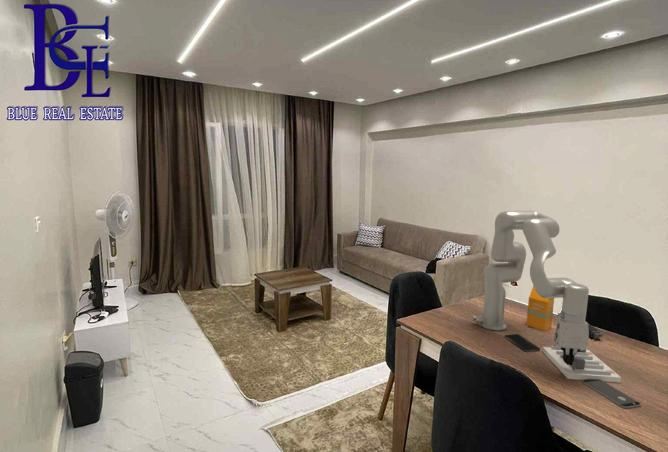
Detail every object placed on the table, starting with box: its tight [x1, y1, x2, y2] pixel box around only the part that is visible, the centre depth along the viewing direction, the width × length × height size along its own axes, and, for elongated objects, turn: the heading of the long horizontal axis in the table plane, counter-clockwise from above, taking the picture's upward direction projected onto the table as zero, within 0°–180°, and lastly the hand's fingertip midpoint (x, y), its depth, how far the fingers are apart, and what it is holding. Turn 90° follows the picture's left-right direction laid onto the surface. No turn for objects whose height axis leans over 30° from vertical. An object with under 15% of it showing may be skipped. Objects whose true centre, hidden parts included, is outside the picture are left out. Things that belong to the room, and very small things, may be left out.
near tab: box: [572, 357, 585, 370], centre depth 136 cm, size 3×3×4 cm
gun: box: [588, 323, 604, 340], centre depth 175 cm, size 4×20×10 cm, turn 11°
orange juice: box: [526, 284, 555, 332], centre depth 179 cm, size 8×9×20 cm
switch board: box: [541, 345, 622, 384], centre depth 143 cm, size 18×21×3 cm
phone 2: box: [581, 379, 642, 410], centre depth 125 cm, size 8×1×16 cm
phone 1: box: [503, 333, 541, 353], centre depth 162 cm, size 8×1×15 cm
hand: (567, 363), depth 137 cm, fingers closed
